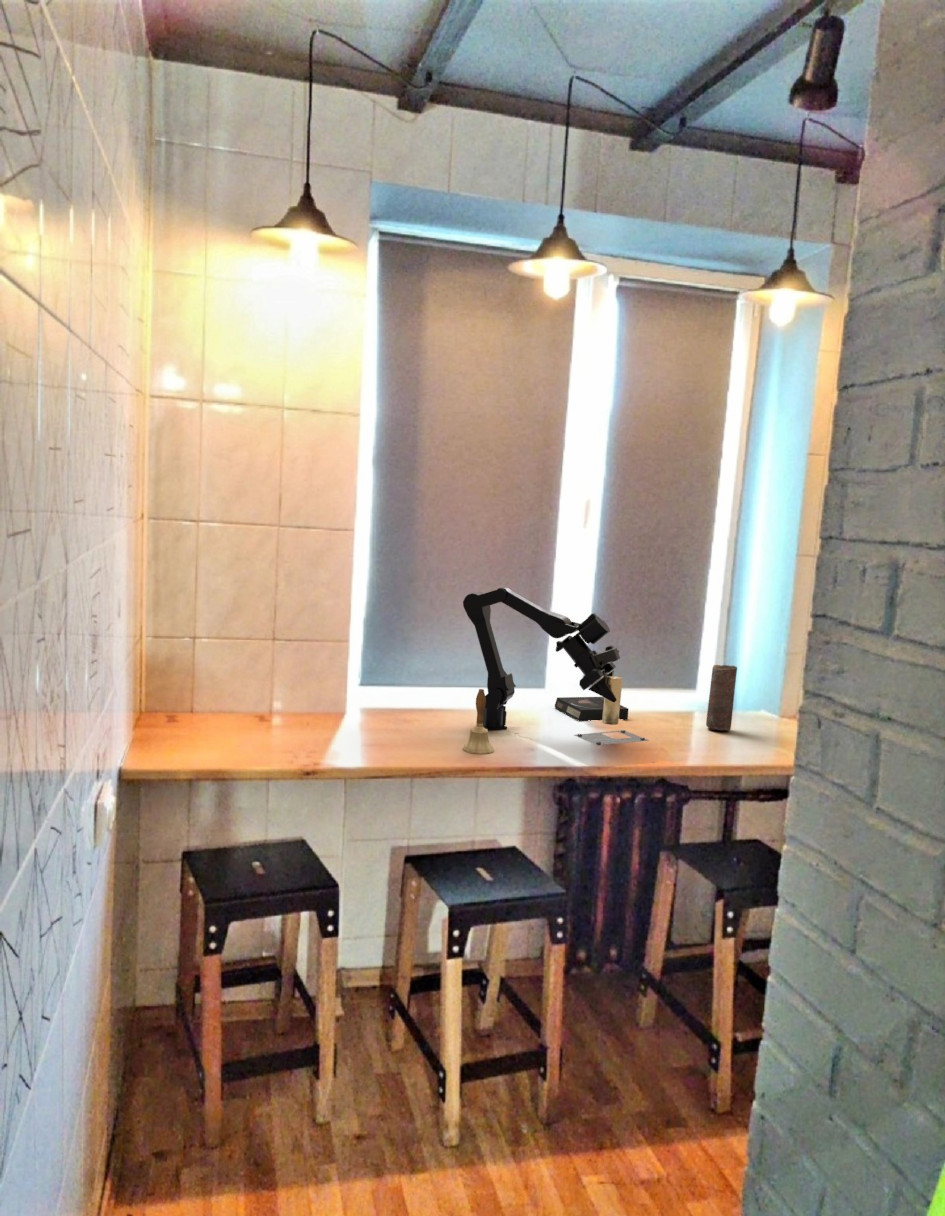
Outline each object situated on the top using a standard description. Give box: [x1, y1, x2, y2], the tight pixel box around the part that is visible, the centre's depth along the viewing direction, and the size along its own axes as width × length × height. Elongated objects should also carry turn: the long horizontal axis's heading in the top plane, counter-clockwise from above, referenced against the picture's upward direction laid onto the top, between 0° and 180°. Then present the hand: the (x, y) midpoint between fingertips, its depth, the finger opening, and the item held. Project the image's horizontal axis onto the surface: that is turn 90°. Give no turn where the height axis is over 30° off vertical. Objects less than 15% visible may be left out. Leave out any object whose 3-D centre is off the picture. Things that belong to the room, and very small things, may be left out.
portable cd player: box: [554, 696, 629, 722], centre depth 290 cm, size 16×17×4 cm
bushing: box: [601, 675, 623, 726], centre depth 252 cm, size 4×4×12 cm
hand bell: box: [462, 688, 495, 755], centre depth 240 cm, size 8×8×16 cm
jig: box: [573, 729, 650, 746], centre depth 257 cm, size 18×11×2 cm, turn 120°
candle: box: [705, 664, 738, 732], centre depth 279 cm, size 8×7×20 cm
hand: (617, 699), depth 251 cm, fingers closed on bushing, 4 cm apart
